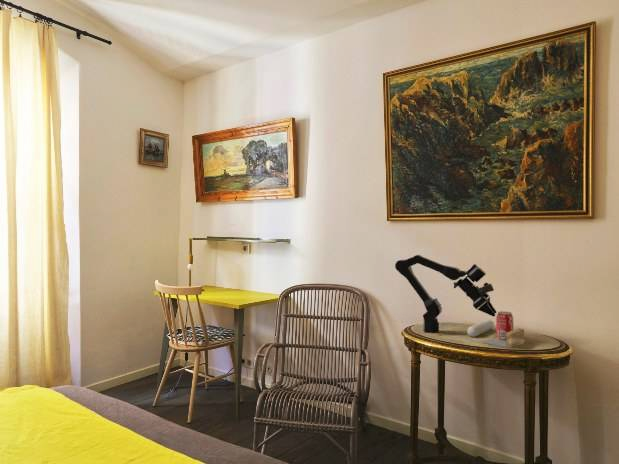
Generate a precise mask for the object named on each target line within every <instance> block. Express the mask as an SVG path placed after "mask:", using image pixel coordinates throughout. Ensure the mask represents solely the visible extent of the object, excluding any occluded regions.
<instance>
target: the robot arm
mask: <svg viewBox="0 0 619 464" xmlns="http://www.w3.org/2000/svg"><path fill="white" fill-rule="evenodd" d="M418 264H419V265H421V266H423V267H425V268H428V269H431V270H433V271H436V272H437V273H440V274H441V275H443V276H444V277H446V278H447V279H449V280H451V281H454V282H453V289H456V288H459V289H460V290H462V291H463V292H464V293H465V294H466V297H468V298H469V299H470V300H471V301H472V306H473V308H475V310H477V311H480V312H482V313H485V314H486V315H489V316H492V317H493V318H494V317H496V314H497V310H496V308H495V307H494V306H493V304H492V302H491V297H490V294H489V292H493V291H495V289H494V286H493V284H492V283H488V282H484V283H483V286H480V287H479V286H477V285H475V284H474V283H475V282H476V283H478V282H480V281H481V279H482V278H484V277H485V276H486V274H487V272H485V270H483V269H482V268H481V267H479V266H478V265H477V264H475V263H474V264H473V265H472V266H471V267H470V268H469V269H468V270H467V271H466V270H461V269H460V268H459V267H455V266H450V265H445V264H443V263H440V262H437V261H434V260H431V259H429V258H427V257H424V256H422V255H421V254H416V255H414V256H412V257H409V258H407V259H400V260H397V261H396V262H395V266H394V267H395V269H396V271H397V272H398V273H399V274H401V276H403V278H406V280H407V281H408V282H409V284H410V285H411V287H412V288H413V289H414V291H415V292H416V293H417V295H418V296H419V298H420V300H421V301H422V302H423V305H424V307H425V310H426V311H425V313H424V314H422V318H423V329H422V330H423V333H435V334H436V333H437V334H438V333H439V330H440V326H439V325H440V322H439V321H438V320H439V319H438V317H439V315H441V313H442V311H443V307H442V304H441V303H440V302H439V300H438V298H437V297H436V298H433V297H432V296H431V295H430V294H429V292H427V291H428V290H426V289H425V287H424V286H423V285H422V283H421V282H420V281H419V279H418V278H417V276H416V275H415V273H414V271H413V268H412V267H413V266H415V265H418ZM456 280H457V281H456ZM455 281H456V282H455Z"/></svg>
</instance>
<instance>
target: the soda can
mask: <svg viewBox="0 0 619 464" xmlns="http://www.w3.org/2000/svg"><path fill="white" fill-rule="evenodd" d="M495 322H496V329H495V330H496V337H497V338H498V340H502V341H506V333H508V332H511V331H514V316H513V313H512V312H511V311H504V310H503V311H498V312H497V313H496V321H495Z"/></svg>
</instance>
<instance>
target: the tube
mask: <svg viewBox="0 0 619 464" xmlns="http://www.w3.org/2000/svg"><path fill="white" fill-rule="evenodd" d="M494 325H495V324H494V322H493V320H491V319H487V318H485V319H484V320H482V321H480V322H477V323H476V324H473V325H471V326H470V327H468V329H467V335H468V336H469V337H470V338H476V336H477V337H479V336H481V335H482V334H484V333H487V332H488V331H490V329H491V330H493V328H494V327H495V326H494ZM480 334H481V335H480ZM478 335H479V336H478Z"/></svg>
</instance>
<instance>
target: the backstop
mask: <svg viewBox="0 0 619 464" xmlns="http://www.w3.org/2000/svg"><path fill="white" fill-rule="evenodd" d="M505 341H506V348H508V349H513V348H515V347H517V346H520V345H523V344H524V343H525V329H524V328H517V329H513V331H511V332H508V333H506V340H505Z"/></svg>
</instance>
